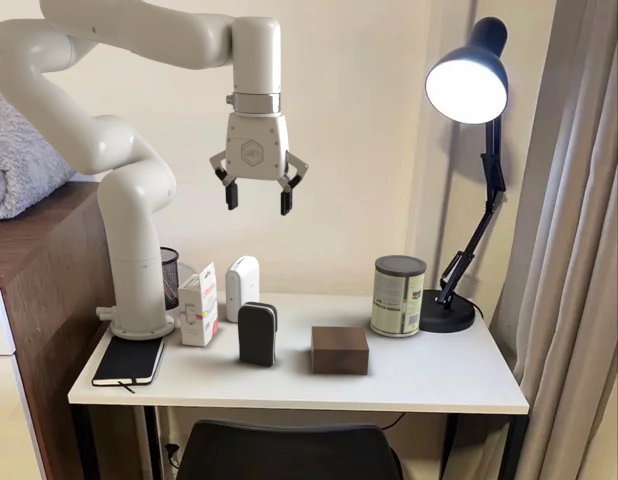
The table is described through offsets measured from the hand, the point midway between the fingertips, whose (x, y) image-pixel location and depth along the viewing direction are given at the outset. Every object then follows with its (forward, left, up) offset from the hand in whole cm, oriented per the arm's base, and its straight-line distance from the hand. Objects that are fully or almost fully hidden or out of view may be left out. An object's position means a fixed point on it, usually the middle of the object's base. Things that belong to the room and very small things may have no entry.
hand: (259, 211), depth 116 cm
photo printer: (-4, +17, -27) cm, 32 cm away
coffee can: (+28, +11, -27) cm, 40 cm away
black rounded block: (0, -5, -27) cm, 27 cm away
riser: (+15, -5, -27) cm, 31 cm away
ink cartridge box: (-12, +5, -27) cm, 30 cm away
